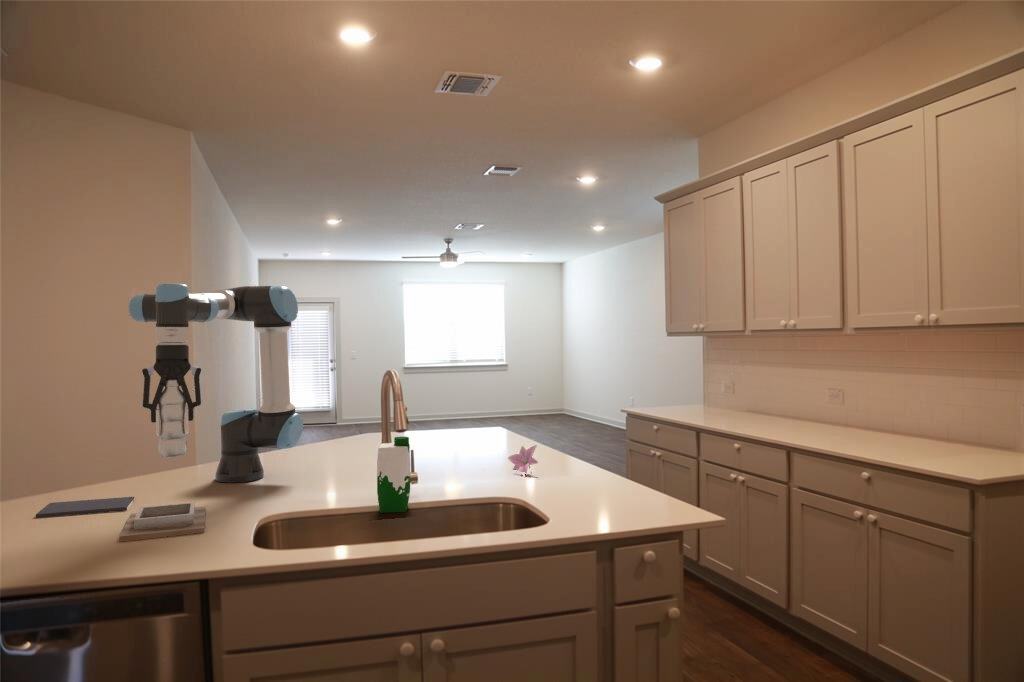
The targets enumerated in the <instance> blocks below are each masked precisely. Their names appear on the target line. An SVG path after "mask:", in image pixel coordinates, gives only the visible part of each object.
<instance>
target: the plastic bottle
mask: <svg viewBox="0 0 1024 682" xmlns="http://www.w3.org/2000/svg"><path fill="white" fill-rule="evenodd" d="M180 387H181V385H180V382H179V380H178V379H176V380H166V381H165V384H164V388H163V391H162V393H161V396H160V398H159V401H158V409H159V410H160V436H159V440H158V447H157V448H158V454H159V455H160V456H161V457H164V458H170V459H174V458H178V457H181V456H184V455H185V454H186V453H187V451H188V444H187V439H186V434H185V408H187V407H186V406H187V402H186V399H185V396H184V394H183V391H182V389H181V388H180Z"/></svg>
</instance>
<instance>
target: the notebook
mask: <svg viewBox="0 0 1024 682" xmlns="http://www.w3.org/2000/svg"><path fill="white" fill-rule="evenodd" d="M133 502H135V496H126V497H125V496H124V497H122V496H121V497H112V498H111V497H110V498H97V499H85V500H72V501H71V500H70V501H69V500H68V501H57V502H49V503H48V504H47V505H45V506H44V507H43V508H42V509H40V510H39V511H38V512H37V513H36V514H35V518H36V519H40V518H50V517H52V518H53V517H54V516H55V517H65V515H67V516H78V515H77V514H79V515H89V514H88V513H92V514H99V513H98V512H104V513H110V512H109V511H117V512H124V511H123V510H127V511H128V510H129V508H130V506H131V505H132V504H133ZM131 503H132V504H131ZM128 507H129V508H128Z"/></svg>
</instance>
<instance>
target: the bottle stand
mask: <svg viewBox="0 0 1024 682" xmlns="http://www.w3.org/2000/svg"><path fill="white" fill-rule="evenodd" d="M206 511H207V509H206V506H197V507H196V502H195V501H194V502H193V501H192V502H191V501H190V502H183V503H171V504H159V505H151V506H149V505H148V506H140V507H139V508H138V510H137V512H134V513H130V514H129V517H128V519H127V521H126V523H125V525H124V527H123V528H122V531H121V533H120V534H119V535H120V536H119V542H120V543H121V542H130V541H131V542H132V541H137V540H138V541H139V539H140V540H148V539H149V538H150V539H157V538H165V537H167V536H168V537H176V535H177V536H186V535H185V534H187V535H194V534H193V533H196V534H202V533H203V534H204V533H205V527H206V526H205V525H206V513H205V512H206ZM168 537H167V538H168Z"/></svg>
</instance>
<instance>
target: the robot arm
mask: <svg viewBox="0 0 1024 682" xmlns="http://www.w3.org/2000/svg"><path fill="white" fill-rule="evenodd" d="M155 291H156V292H155V293H154V294H153V293H152V294H149V293H144V294H137V295H136V294H135V295H134V296H133V297H131V299H130V300H129V304H128V313H129V315H130V317H131V318H132V319H133V320H134V321H136V322H142V323H143V322H144V323H155V342H156V344H157V343H158V344H157V345H156V346H155V363H154V365H153V366H151V367H144V368H143V369H142V370H141V371H142V374H143V378H144V379H143V380H144V381H143V394H142V397H143V398H142V407H143V408H145V409H149V410H150V422H151V423H153V424H154V423H155V436H156V437H160V431H161V420H160V410H159V408H158V406H159V404H158V401H159V398H160V396H161V393H162V392H163V391H164V389H165V387H164V384H165V381H166V380H176V379H178V380H179V382H180V385H181V386H180V387H181V388H180V389H181V391H182V392H183V394H184V396H185V399H186V406H187V407H185V414H184V430H185V435H189V434H190V433H189V432H190V431H189V430H190V428H189V422H193V421H194V409H195V407H199V406H201V405H202V400H201V399H202V398H201V397H202V396H201V383H200V380H201V379H200V375H201V373H202V368H201V367H200V366H199V367H196V366H194V365H193V366H192V365H191V363H190V361H189V360H190V357H189V356H190V355H189V353H190V350H189V349H190V347H189V345H188V344H187V343H189V342H190V341H189V340H190V338H189V337H190V336H189V335H190V334H189V333H190V331H189V330H190V328H189V326H190V325H189V323H208V322H212V321H213V320H215V319H217V320H231V321H232V320H233V321H241V322H253V328H254V329H255V330H256V331H257V332H258V334H259V335H258V336H259V354H260V371H261V372H260V374H261V392H262V394H261V395H262V405H261V406H260V407H259V408H257V407H256V408H246V409H238V410H232V411H227V412H224V413H223V414H222V415H221V418H220V419H221V421H220V449H221V451H220V452H221V454H220V460H219V461H218V465H217V468H216V471H215V481H216V482H218V483H219V482H220V483H231V484H232V483H245V482H251V481H252V482H253V481H256V480H260V479H262V478H264V477H265V470H264V466H263V464H262V461H261V458H260V455H259V449H278V450H282V449H291V448H293V447H295V446H296V445H297V444H298V442H299V441H300V439H301V436H302V435H303V429H304V419H303V417H302V415H301V414H299V413H296V406H295V405H294V404H292V403H291V394H290V393H291V391H290V375H289V374H290V373H289V371H290V370H289V368H290V367H289V351H288V350H289V348H288V347H289V346H288V331H289V330H290V328H291V327H292V322H294V321H295V320H296V319H297V317H298V313H299V305H298V301H297V297H296V296H295V294H294V293H293V291H292V290H291V289H290V288H289V287H287V286H284V285H283V286H282V285H255V286H253V285H244V286H238V287H237V286H236V287H232V288H224V289H217V290H216V289H215V290H214V291H212V292H201V293H200V292H199V293H198V292H193V293H190V290H189V286H188V284H184V283H170V282H169V283H167V282H166V283H159V284H158V285H156V290H155ZM154 371H155V373H157V375H158V376H159V378H160V379H159V382H158V385H157V388H156V392H155V393H154V397H153V400H152V402H151V403H150V395H151V394H150V393H151V392H150V391H151V376H152V375H154ZM189 371H191V374H192V375H193V384H194V396H195V397H194V398H195V401H193V400H192V397H191V394H190V391H189V388H188V385H187V382H186V379H185V376H186V374H187V373H188V372H189Z"/></svg>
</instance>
